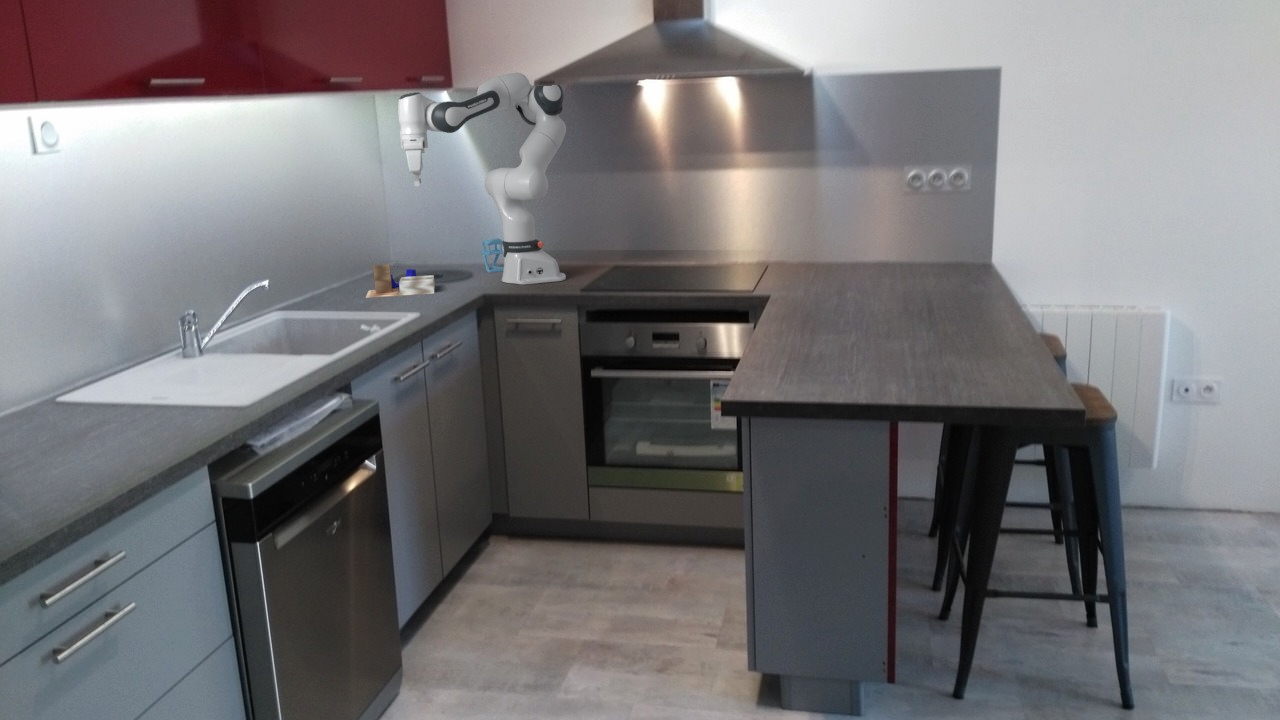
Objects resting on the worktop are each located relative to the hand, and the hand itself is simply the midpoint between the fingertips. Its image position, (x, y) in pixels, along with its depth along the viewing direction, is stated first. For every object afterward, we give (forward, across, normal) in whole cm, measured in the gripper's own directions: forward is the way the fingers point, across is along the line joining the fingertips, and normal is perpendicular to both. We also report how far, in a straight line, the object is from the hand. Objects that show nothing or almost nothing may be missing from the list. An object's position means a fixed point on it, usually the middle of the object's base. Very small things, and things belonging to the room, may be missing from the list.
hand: (417, 184), depth 357 cm
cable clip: (+36, -2, -9) cm, 37 cm away
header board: (+35, +10, -8) cm, 37 cm away
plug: (+34, +10, -13) cm, 38 cm away
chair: (+35, -29, +24) cm, 52 cm away
